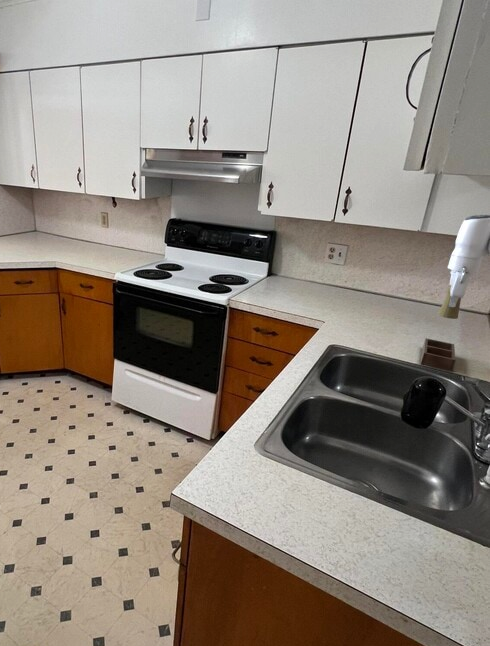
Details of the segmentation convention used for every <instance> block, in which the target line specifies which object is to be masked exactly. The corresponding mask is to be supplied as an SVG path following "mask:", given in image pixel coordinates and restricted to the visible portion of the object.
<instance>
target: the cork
mask: <svg viewBox="0 0 490 646" xmlns="http://www.w3.org/2000/svg"><path fill="white" fill-rule="evenodd" d="M450 289H451V285H450V284H449V285H448V287H447V288H446V293H447V294H446V296H445V298H444V300H443V302H442V305H441V307H440V309H439V311H438V313H437V315H438V316H439V317H442V318H446V319H452V320H456V319H458V318H459V313H460V307H461V301H462V298H459V299H458V301H457V303H456V306H455V307H450V306H449V303H450V300H451V295H450Z"/></svg>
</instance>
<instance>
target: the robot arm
mask: <svg viewBox="0 0 490 646" xmlns="http://www.w3.org/2000/svg"><path fill="white" fill-rule="evenodd" d="M454 243H455V244H454V245H455V246H454V249H453V251H452V252H451V255H450V258H449V261H448V265H447V269H448V270H450V272H449V273H450V278H449V286H450V285H451V289H450V295H451V300H450V303H449V306H450V307H455V306H456V303H457V301H458V299H459V298H461V299H463V298H464V296H465V295H466V291H467V288H468V284H469V280H470V278H472V277H473V275H474V274H478V273H479V271H480V269H481V266H482V262H483V260H484V257H485V256H490V214H478V215H477V214H476V215H470V216H468V217H466V218H465V219H464V220H463V221H462V223H461V225H460V228H459V230H458V232H457V236H456V239H455V242H454Z"/></svg>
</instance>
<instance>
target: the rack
mask: <svg viewBox="0 0 490 646" xmlns="http://www.w3.org/2000/svg"><path fill="white" fill-rule="evenodd" d="M455 363H456V350H455V344H454V343H451V342H447V341H442V340H441V341H440V340H436V339H431V338H424V342H423V345H422V348H421V357H420V366H425V367H429V368H433V369H437V370H442V371H446V372H450V373H452V372H453V369H454V366H455Z"/></svg>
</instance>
